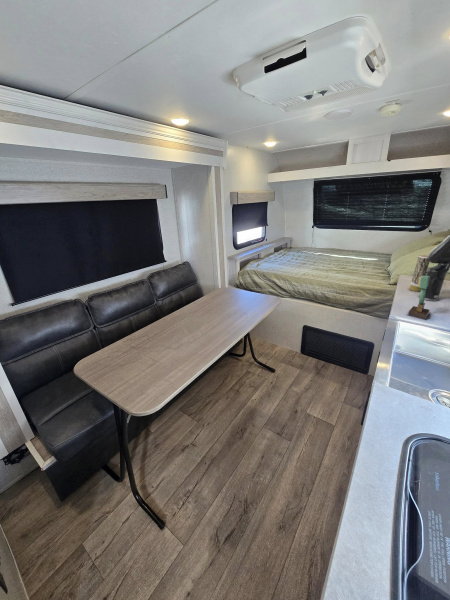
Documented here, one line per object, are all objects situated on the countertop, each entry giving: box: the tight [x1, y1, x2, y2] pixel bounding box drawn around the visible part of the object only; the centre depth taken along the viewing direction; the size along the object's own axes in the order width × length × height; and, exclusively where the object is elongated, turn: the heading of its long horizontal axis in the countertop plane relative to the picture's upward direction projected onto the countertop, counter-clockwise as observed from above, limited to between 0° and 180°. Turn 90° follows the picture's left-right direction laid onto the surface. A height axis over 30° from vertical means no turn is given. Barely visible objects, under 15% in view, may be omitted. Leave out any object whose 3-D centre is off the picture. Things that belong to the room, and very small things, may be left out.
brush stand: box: [407, 302, 431, 320], centre depth 139 cm, size 9×8×7 cm
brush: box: [417, 276, 430, 305], centre depth 136 cm, size 5×4×19 cm
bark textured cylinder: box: [409, 254, 430, 292], centre depth 170 cm, size 7×7×25 cm
